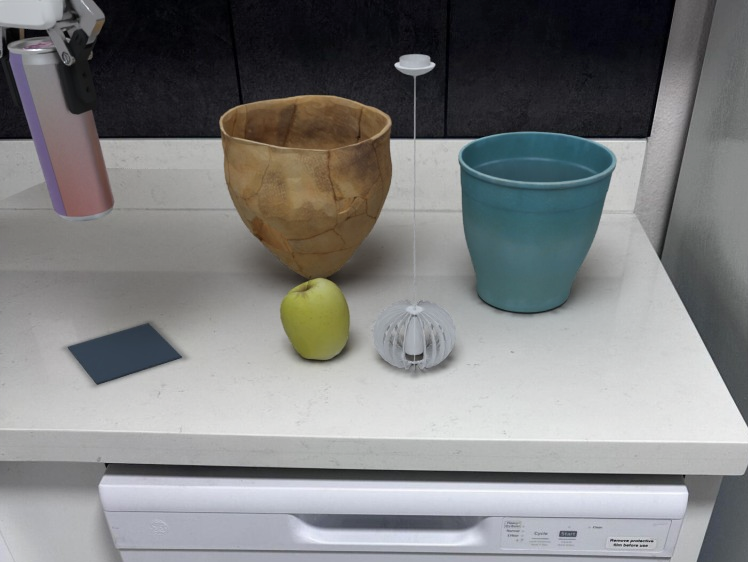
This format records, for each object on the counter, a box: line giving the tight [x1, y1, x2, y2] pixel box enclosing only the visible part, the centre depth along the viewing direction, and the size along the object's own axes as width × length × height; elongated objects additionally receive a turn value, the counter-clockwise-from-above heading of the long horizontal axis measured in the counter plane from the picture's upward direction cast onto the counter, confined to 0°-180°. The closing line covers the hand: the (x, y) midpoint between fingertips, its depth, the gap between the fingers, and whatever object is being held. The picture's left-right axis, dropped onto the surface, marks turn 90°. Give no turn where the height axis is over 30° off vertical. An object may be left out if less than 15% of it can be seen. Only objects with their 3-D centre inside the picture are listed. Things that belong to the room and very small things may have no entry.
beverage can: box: [8, 36, 115, 222], centre depth 76 cm, size 6×6×15 cm
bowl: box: [218, 94, 393, 280], centre depth 99 cm, size 21×20×20 cm
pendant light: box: [372, 53, 457, 371], centre depth 80 cm, size 9×9×30 cm
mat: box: [67, 322, 183, 385], centre depth 92 cm, size 10×10×1 cm
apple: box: [279, 276, 351, 361], centre depth 88 cm, size 8×8×10 cm
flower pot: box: [457, 131, 618, 313], centre depth 96 cm, size 18×18×17 cm
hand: (56, 105), depth 74 cm, fingers closed on beverage can, 6 cm apart
